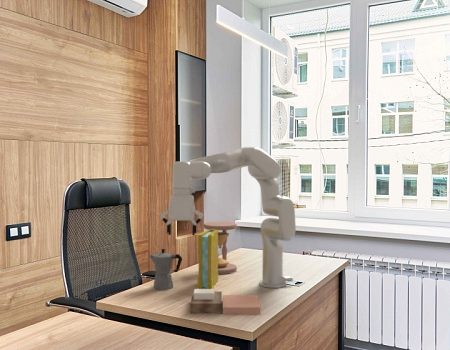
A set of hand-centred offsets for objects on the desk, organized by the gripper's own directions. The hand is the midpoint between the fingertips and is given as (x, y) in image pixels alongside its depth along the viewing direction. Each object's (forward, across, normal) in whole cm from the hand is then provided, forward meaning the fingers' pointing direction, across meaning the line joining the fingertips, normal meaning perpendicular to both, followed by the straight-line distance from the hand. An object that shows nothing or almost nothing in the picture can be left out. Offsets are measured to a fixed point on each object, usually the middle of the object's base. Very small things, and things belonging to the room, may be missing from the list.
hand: (181, 234), depth 187 cm
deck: (+29, -10, +1) cm, 31 cm away
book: (+29, -10, -32) cm, 45 cm away
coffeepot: (+29, +10, -27) cm, 41 cm away
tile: (+25, -9, +1) cm, 27 cm away
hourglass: (+29, -14, -60) cm, 68 cm away
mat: (+29, -24, 0) cm, 38 cm away
